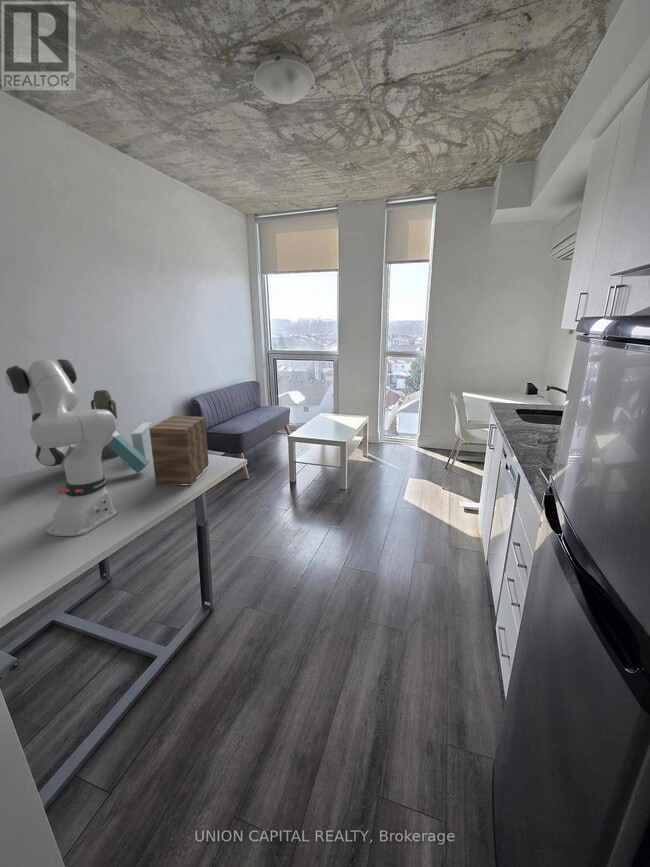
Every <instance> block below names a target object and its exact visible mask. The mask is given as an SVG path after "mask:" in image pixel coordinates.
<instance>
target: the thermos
mask: <svg viewBox="0 0 650 867" xmlns="http://www.w3.org/2000/svg"><path fill="white" fill-rule="evenodd" d="M92 397H93V399H92V400H91V401H90V406H91V409H104V410H108V411H110V412H111V413H112V414H113V415H114V416H115V418H116V420H117V419H118V414H117V411H118V410H117V404H116V402H115V401H114V400H113V399H112V397H111V394H110V392H109V391H108V390H104V389H101V390H96V391H94V392H93V396H92ZM117 457H118V458H119V456H118V455H117V454H116V453H115V452H114V451H112V450H111V449H110V448H109V447H108V446H107V445H106V446H105V447H104V448H103V450H102V454H101V458H103V459H115V458H117Z"/></svg>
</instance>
